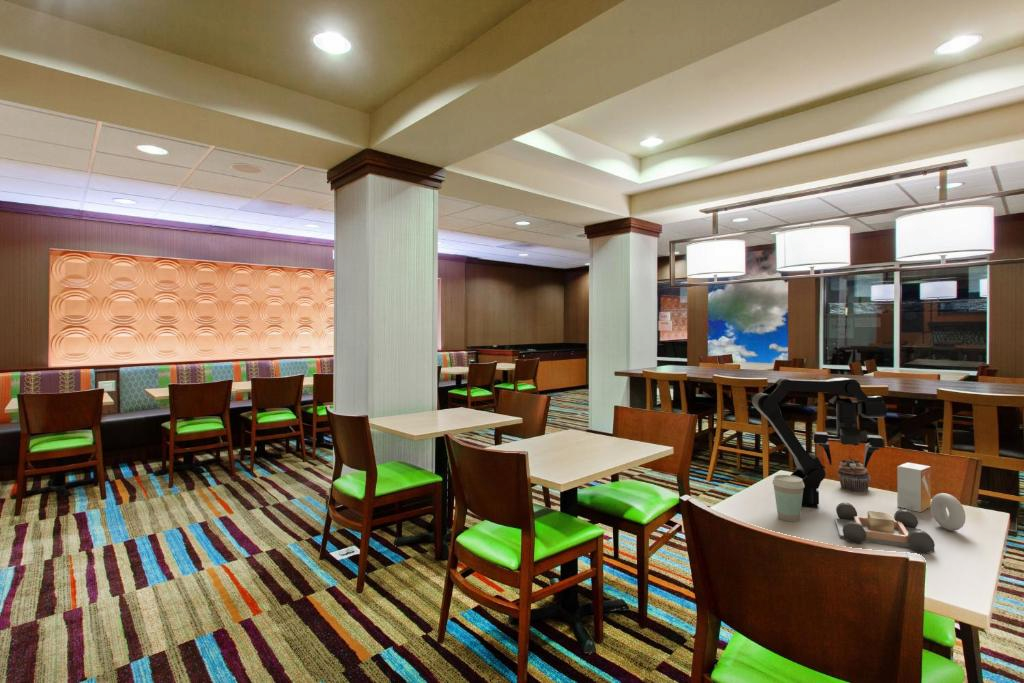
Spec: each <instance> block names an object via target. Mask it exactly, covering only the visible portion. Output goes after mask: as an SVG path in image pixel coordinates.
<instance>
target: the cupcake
mask: <svg viewBox="0 0 1024 683" xmlns="http://www.w3.org/2000/svg"><path fill="white" fill-rule="evenodd" d="M839 464H840V465H839V466H838V467H837V468H838V471H837V475H838V479H839V485H840V488H842V489H843V488H844V489H843V490H845V489H847V490H846V491H849V490H850V491H849V492H855V491H856V492H857V493H864V492H868V491H867V490H869V486H870V482H871V478H872V477H871V475H869V473H868V472H869V470H868V469H867V468H864V464H862V463H860V461H859V460H853V458H849V459H848V460H845V459H843V460H841V461H840V463H839Z"/></svg>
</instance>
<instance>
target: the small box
mask: <svg viewBox="0 0 1024 683" xmlns="http://www.w3.org/2000/svg"><path fill="white" fill-rule="evenodd" d="M896 468H897V469H896V470H897V473H896V475H897V477H896V478H897V480H896V484H897V485H896V486H897V489H896V490H897V498H896V499H897V501H896V502H897V504H896V505H897V506H896V507H897V508H900V507H901V508H900V509H904V508H905V509H906V510H908V509H909V511H912V512H918V513H922V512H924V511H926V510H928V509H930V508H931V501H932V499H931V496H932V493H931V490H932V489H931V487H932V486H931V484H932V478H931V477H932V476H931V475H932V471H931V470H932V469H931V468H932V466H929V465H926V464H919V463H915V462H914V463H913V462H905V463H902V464H900V465H898V466H896ZM929 507H930V508H929ZM927 508H928V509H927Z"/></svg>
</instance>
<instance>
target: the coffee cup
mask: <svg viewBox="0 0 1024 683" xmlns="http://www.w3.org/2000/svg"><path fill="white" fill-rule="evenodd" d="M772 485H773V490H774V499H775V505H776V506H775V507H776V512H777V513H776V514H777V517H778V518H779V519H780V518H781V519H780V520H782V519H783V521H786V520H787V522H798V520H799V521H800V520H801V513H802V507H803V506H802V498H803V489H804V487H805V486H804V483H803V480H802V479H801V478H799V477H796V476H791V474H777V475H774V477H773V479H772Z"/></svg>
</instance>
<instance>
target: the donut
mask: <svg viewBox="0 0 1024 683" xmlns="http://www.w3.org/2000/svg"><path fill="white" fill-rule="evenodd" d="M930 510H931V511H930V512H931V514H932V517H933V518H934V520H935V522H936V523H937V525H939V526H940V527H942V528H943V529H945V530H947V531H951V532H952V531H953V532H954V531H959V530H960V529H962V528H963V527H964V525H965V523H966V519H967V517H966V512H965V509H964V507H963V505H962V504H961V501H959V500H958V498H956V497H955V496H953V495H952V494H949V493H945V492H940V493H937V494H935V495H934V496H933V497H932V499H931V507H930ZM947 511H948V512H947Z"/></svg>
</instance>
